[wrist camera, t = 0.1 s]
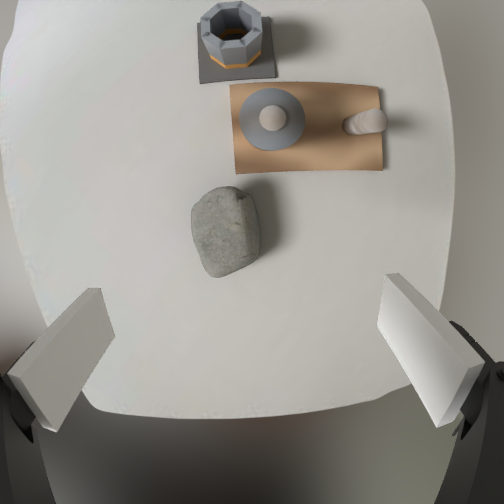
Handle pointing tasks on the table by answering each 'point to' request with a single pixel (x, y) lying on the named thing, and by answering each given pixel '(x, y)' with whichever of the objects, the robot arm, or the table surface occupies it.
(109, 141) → the table surface
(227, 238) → the stone
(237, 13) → the sleeve
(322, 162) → the pin board
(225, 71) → the pad
